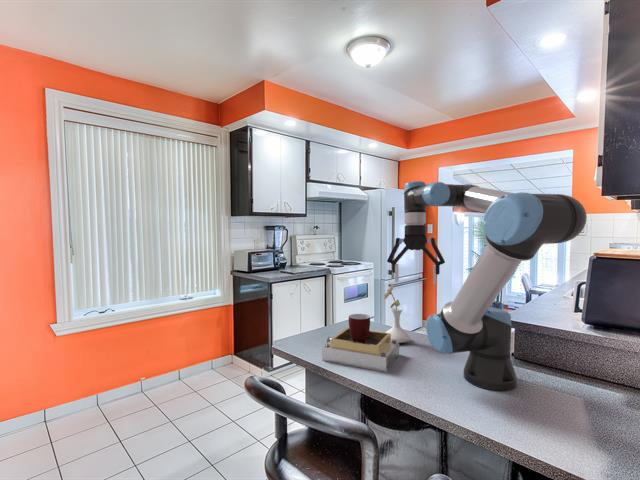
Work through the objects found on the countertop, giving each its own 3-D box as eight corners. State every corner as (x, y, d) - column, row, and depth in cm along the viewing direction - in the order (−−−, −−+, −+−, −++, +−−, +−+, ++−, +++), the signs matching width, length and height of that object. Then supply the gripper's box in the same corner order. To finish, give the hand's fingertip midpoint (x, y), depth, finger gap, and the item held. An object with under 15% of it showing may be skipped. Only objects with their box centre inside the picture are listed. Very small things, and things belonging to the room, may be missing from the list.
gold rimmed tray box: (399, 354, 131) (399, 333, 130) (386, 372, 115) (386, 348, 114) (332, 343, 143) (332, 324, 143) (312, 358, 127) (312, 337, 127)
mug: (379, 345, 125) (379, 318, 125) (361, 349, 121) (361, 322, 121) (361, 338, 134) (361, 312, 134) (344, 341, 130) (344, 315, 130)
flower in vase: (393, 335, 154) (393, 280, 154) (415, 341, 146) (416, 283, 145) (375, 341, 146) (375, 283, 145) (398, 348, 137) (398, 286, 136)
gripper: (452, 224, 123) (452, 282, 123) (383, 225, 133) (384, 279, 134) (450, 223, 116) (451, 285, 116) (378, 225, 126) (379, 282, 127)
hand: (415, 282), depth 125 cm, fingers open, 13 cm apart
